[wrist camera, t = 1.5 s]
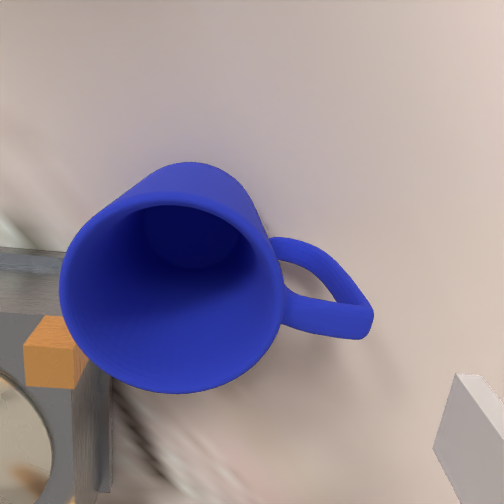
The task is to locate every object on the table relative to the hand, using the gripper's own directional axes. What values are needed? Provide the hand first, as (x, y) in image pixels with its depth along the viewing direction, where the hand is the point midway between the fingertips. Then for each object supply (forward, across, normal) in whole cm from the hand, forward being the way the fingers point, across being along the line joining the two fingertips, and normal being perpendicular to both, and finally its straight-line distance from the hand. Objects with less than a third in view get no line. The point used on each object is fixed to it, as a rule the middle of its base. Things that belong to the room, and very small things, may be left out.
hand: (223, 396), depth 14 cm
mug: (+15, 0, 0) cm, 15 cm away
